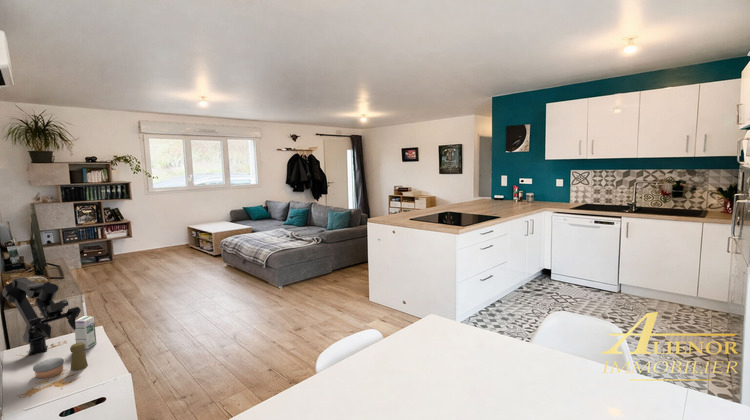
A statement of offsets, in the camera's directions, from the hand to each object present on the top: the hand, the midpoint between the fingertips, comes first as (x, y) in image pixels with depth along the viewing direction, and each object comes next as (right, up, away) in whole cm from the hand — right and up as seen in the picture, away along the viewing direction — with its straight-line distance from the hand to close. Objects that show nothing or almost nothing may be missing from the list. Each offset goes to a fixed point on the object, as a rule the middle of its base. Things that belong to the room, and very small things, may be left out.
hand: (62, 333), depth 163 cm
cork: (+8, -15, -1) cm, 17 cm away
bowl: (-1, -15, -6) cm, 16 cm away
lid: (-1, -12, -6) cm, 13 cm away
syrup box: (-4, -13, +18) cm, 22 cm away
